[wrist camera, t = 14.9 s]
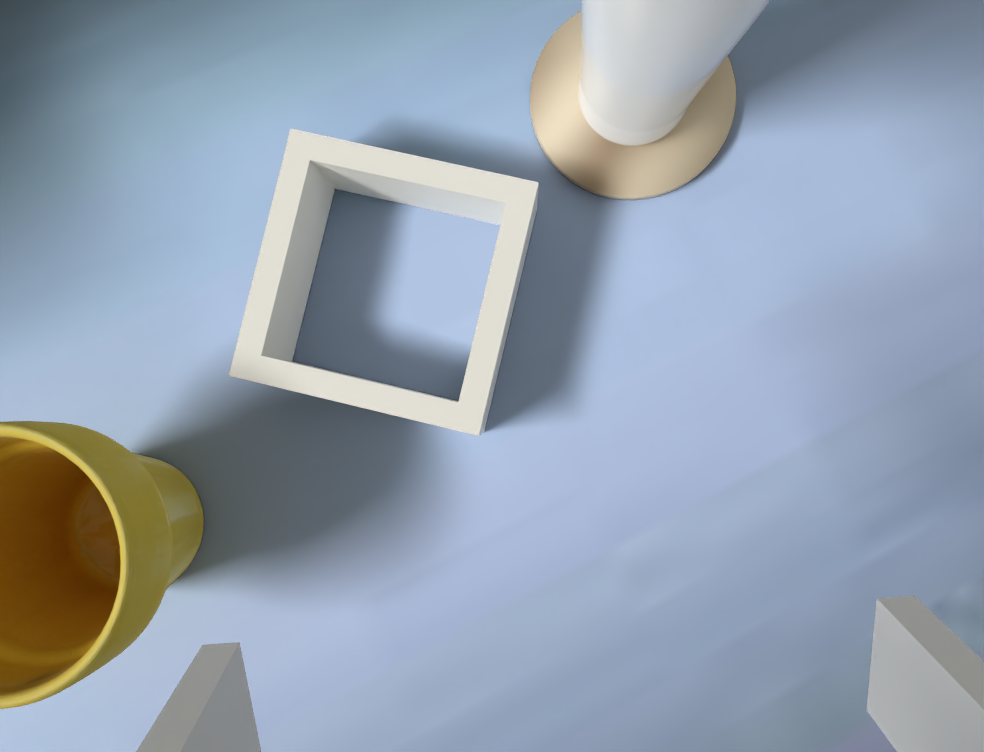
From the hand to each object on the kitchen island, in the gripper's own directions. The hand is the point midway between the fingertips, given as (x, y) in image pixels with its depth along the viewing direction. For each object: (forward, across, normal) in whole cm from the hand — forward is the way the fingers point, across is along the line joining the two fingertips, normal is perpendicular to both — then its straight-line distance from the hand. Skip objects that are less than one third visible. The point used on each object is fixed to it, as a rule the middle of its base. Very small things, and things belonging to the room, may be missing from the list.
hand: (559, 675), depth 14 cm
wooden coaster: (+24, +7, +14) cm, 28 cm away
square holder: (+22, -5, +5) cm, 23 cm away
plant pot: (+19, -19, -5) cm, 28 cm away
